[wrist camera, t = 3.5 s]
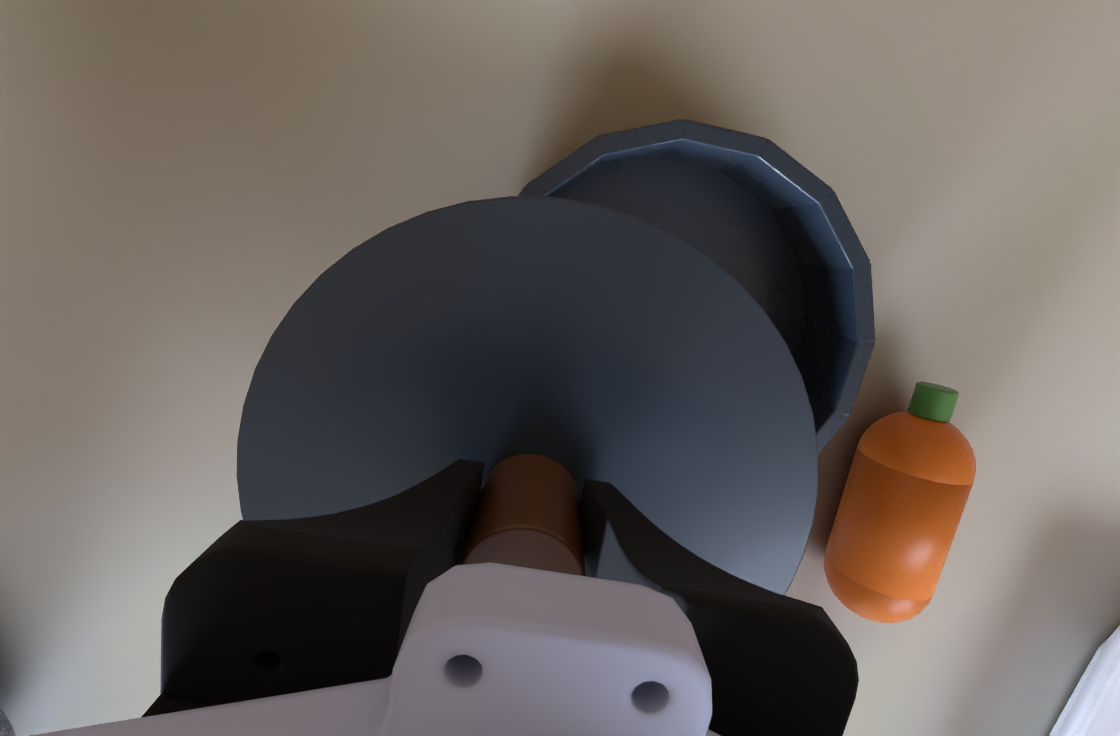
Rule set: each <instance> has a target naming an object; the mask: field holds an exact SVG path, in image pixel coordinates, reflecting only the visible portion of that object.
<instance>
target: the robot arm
mask: <svg viewBox="0 0 1120 736" xmlns="http://www.w3.org/2000/svg"><path fill="white" fill-rule="evenodd" d="M484 465H485V463H483V462H477V461H471V460H464V459H458V460H456V461H455V462H453V463H452V464H450V465H449V466H447V467H446V468H444V469H443V470H441V471H439V472H438V473H436V474H434V475H433V476H431V477H430V478H428V479H426V480H425V481H423V482H421V483H419V484H417V485H415V486H413V487H411V488H409V489H407V490H405V491H403V492H401V493H399V494H397V495H394V496H392V497H389V498H387V499H384V500H381V501H378V502H376V503H373V504H370V505H366V506H363V507H359V508H355V509H350V510H346V511H342V512H338V513H333V514H328V515H321V516H315V517H306V518H297V519H283V520H240V521H239V522H238V523H236V524H235V525H234V526H233V527H231V528H230V529H229V530H228V531H227V532H225V533H224V534H223V535H222V536H221V537H219V538H218V539H217V540H216V541H215V542H214V543H213V544H212V545H211V546H210V547H209V548H208V549H207V550H206V551H204V552H203V553H202V554H201V555H200V556H199V557H198V558H197V559H196V560H195V561H194V562H193V563H192V564H191V565H190V566H188V567H187V568H186V569H185V570H184V571H183V572H182V573H181V574H180V575H179V576H178V577H177V578H176V579H175V581H174V583H173V585H172V586H171V588H170V590H169V592H168V594H167V596H166V598H165V603H164V608H163V614H162V629H161V695H160V696H159V697H158V698H157V699H156V701H155V702H154V703H153V704H152V705H151V707H150V708H149V709H148V710H147V711H146V712H145V714H144V715H143V716H142V717H141V718H136V719H129V720H123V721H117V722H111V723H105V724H99V725H92V726H86V727H80V728H74V729H68V730H61V731H55V732H49V733H43V734H37V735H31V736H842V735H843V733H844V730H845V727H846V724H847V721H848V718H849V715H850V712H851V710H852V707H853V704H854V701H855V697H856V692H857V687H858V681H859V679H858V670H857V662H856V659H855V657H854V655H853V653H852V651H851V649H850V647H849V644H848V643H847V641H846V640H845V639H844V637H843V636H842V634H841V633H840V632H839V630H838V629H837V627H836V626H835V625H834V623H833V622H832V621H831V619H830V618H829V616H828V615H827V614H826V612H825V611H824V609H823V608H822V607H820V606H817V605H813V604H810V603H807V602H804V601H801V600H797V599H794V598H791V597H788V596H784V595H781V594H778V593H775V592H772V591H770V590H767V589H765V588H762V587H760V586H757V585H755V584H752V583H750V582H747V581H745V580H743V579H741V578H738V577H736V576H734V575H732V574H730V573H728V572H726V571H724V570H722V569H720V568H718V567H716V566H714V565H713V564H711V563H709V562H707V561H705V560H704V559H702V558H700V557H699V556H697V555H695V554H694V553H692V552H691V551H689V550H688V549H686V548H685V547H683V546H682V545H680V544H679V543H677V542H676V541H675V540H673V539H672V538H671V537H669V536H668V535H667V534H666V533H664V532H663V531H662V530H661V529H660V528H658V527H657V526H656V525H655V524H654V523H652V522H651V521H650V520H649V519H648V518H647V517H646V516H645V515H644V514H642V513H641V512H640V511H639V510H638V509H637V508H636V507H635V506H634V505H633V504H632V503H631V502H630V501H629V500H628V499H627V498H626V497H625V496H624V495H623V494H622V493H621V492H620V491H619V490H618V489H617V488H616V487H615V486H614V485H612V484H611V483H610V482H604V481H597V480H591V479H584V484H583V489H582V494H581V499H580V504H579V506H580V517H581V528H582V538H583V549H584V560H585V571H586V576H579V575H572V574H566V573H559V572H552V571H545V570H539V569H532V568H525V567H519V566H512V565H505V564H498V563H492V562H491V563H479V564H467V565H460V561H461V558H462V554H463V551H464V547H465V544H466V540H467V537H468V533H469V530H470V526H471V523H472V520H473V516H474V513H475V509H476V506H477V502H478V499H479V495H480V491H481V485H482V478H483V472H484Z"/></svg>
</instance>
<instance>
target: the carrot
mask: <svg viewBox="0 0 1120 736" xmlns="http://www.w3.org/2000/svg"><path fill="white" fill-rule="evenodd" d="M958 395H959V394H958V392H957V391H956V390H953V389H951V388H947V387H944V386H940V385H936V384H931V383H926V382H917V383H916V386H915V389H914V392H913V395H912V398H911V401H910V404H909V407H908V411H904V412H897V413H893V414H890V415H887V416H884V417H882V418H881V419H879V420H877V421H876V422H874V423H873V424H872V425H871V426H870V427H869V428H868V429H867V430H866V431H865V432H864V434H863V435H862V436H861V438H860V441H859V443H858V445H857V448H856V452H855V455H854V458H853V462H852V465H851V468H850V471H849V475H848V478H847V481H846V485H845V488H844V491H843V495H842V498H841V501H840V504H839V508H838V511H837V514H836V518H835V521H834V524H833V527H832V531H831V534H830V537H829V541H828V544H827V547H826V551H825V557H824V570H825V574H826V577H827V581H828V583H829V585H830V587H831V589H832V591H833V592H834V594H835V595H836V597H837V598H838V599H839V600H840V601H841V602H842V603H843V604H844V605H845V606H846V607H847V608H848V609H850V610H851V611H853V612H855V613H856V614H858V615H860V616H862V617H864V618H867V619H870V620H873V621H877V622H883V623H894V622H901V621H904V620H907V619H910V618H912V617H914V616H916V615H917V614H919V613H920V612H921V611H922V610H923V609H924V608H925V607H926V606H927V605H928V604H929V602H930V600H931V598H932V596H933V593H934V590H935V588H936V585H937V582H938V579H939V577H940V574H941V571H942V568H943V565H944V563H945V560H946V557H947V554H948V551H949V549H950V546H951V543H952V540H953V538H954V535H955V532H956V529H957V526H958V524H959V521H960V518H961V515H962V513H963V510H964V507H965V504H966V501H967V499H968V496H969V493H970V490H971V487H972V485H973V482H974V477H975V472H976V460H975V457H974V453H973V450H972V448H971V446H970V444H969V442H968V440H967V439H966V438H965V437H964V435H963V434H962V433H961V432H960V431H959V430H958V429H957V428H956V427H954V426H953V425H952V424H951V423H949V421H950V418H951V415H952V413H953V410H954V407H955V404H956V401H957V398H958Z"/></svg>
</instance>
